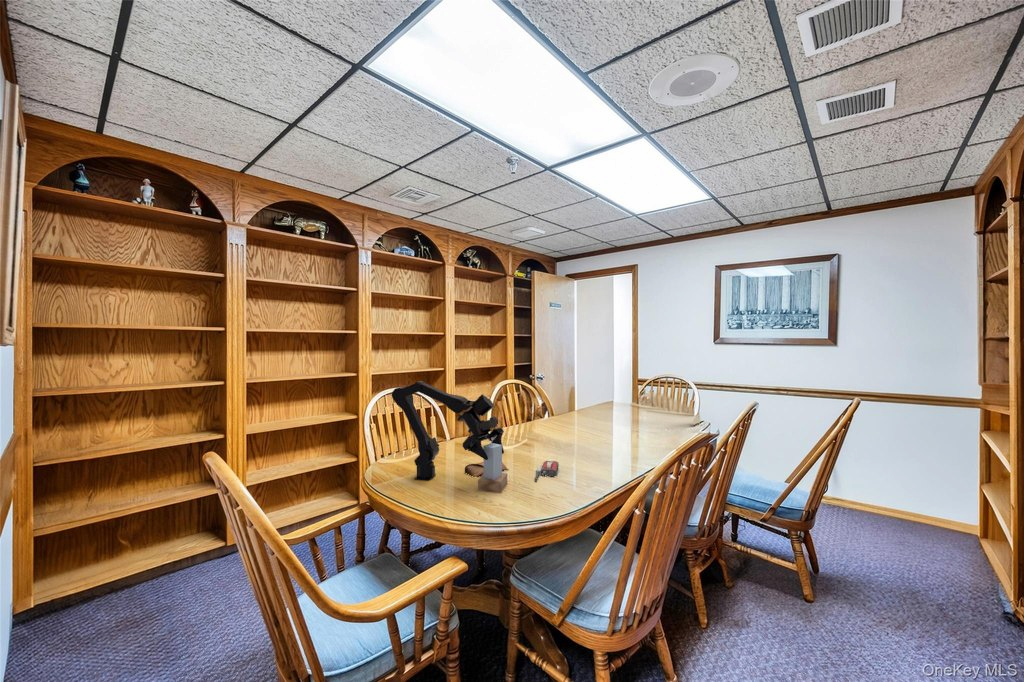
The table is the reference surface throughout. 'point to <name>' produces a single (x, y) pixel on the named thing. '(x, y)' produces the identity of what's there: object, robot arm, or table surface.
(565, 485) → the table surface
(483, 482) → the walnut base
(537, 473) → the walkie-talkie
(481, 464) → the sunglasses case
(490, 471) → the slate block
